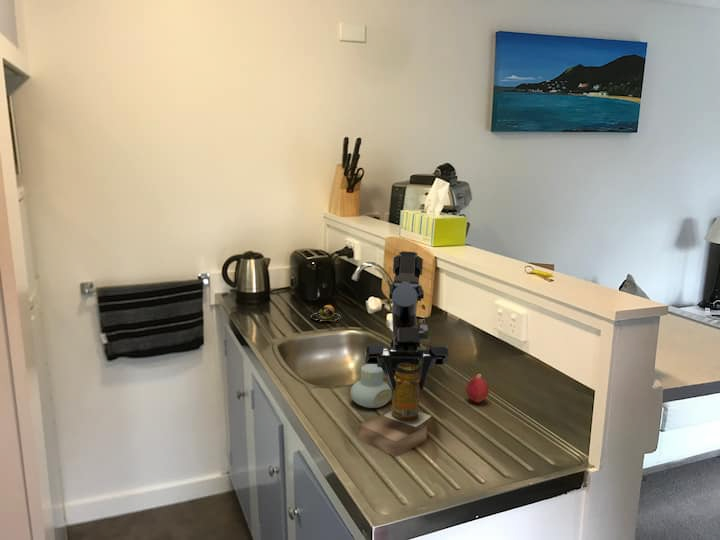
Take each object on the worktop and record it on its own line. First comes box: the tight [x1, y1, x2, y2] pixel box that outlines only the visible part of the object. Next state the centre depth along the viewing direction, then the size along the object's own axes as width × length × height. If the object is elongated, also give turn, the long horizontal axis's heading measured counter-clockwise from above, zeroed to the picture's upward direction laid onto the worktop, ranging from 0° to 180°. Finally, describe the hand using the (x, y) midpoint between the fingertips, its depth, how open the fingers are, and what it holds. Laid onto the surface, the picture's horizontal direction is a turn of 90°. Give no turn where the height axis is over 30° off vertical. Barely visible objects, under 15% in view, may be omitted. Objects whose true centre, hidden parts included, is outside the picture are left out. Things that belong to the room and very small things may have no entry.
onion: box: [465, 373, 490, 404], centre depth 156 cm, size 6×6×8 cm
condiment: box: [384, 363, 432, 427], centre depth 132 cm, size 7×8×12 cm
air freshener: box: [350, 363, 393, 409], centre depth 153 cm, size 11×8×10 cm
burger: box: [310, 302, 342, 323], centre depth 227 cm, size 12×12×8 cm
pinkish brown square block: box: [358, 409, 428, 458], centre depth 135 cm, size 11×11×4 cm
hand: (407, 389), depth 131 cm, fingers closed on condiment, 6 cm apart
